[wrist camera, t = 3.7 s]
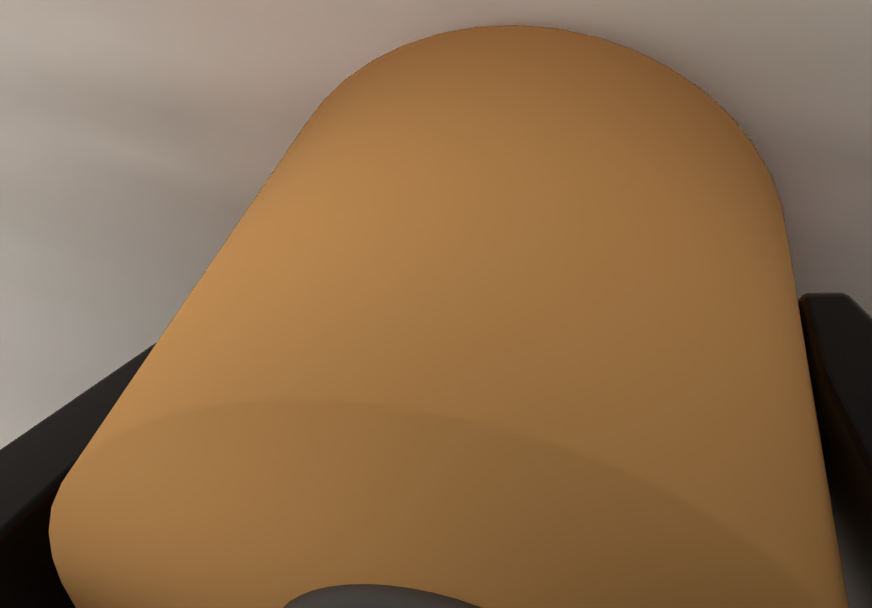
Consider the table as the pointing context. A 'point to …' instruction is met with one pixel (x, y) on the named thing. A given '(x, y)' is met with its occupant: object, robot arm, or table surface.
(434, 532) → the orange cable coil
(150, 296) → the table surface
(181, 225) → the table surface
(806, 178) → the table surface
